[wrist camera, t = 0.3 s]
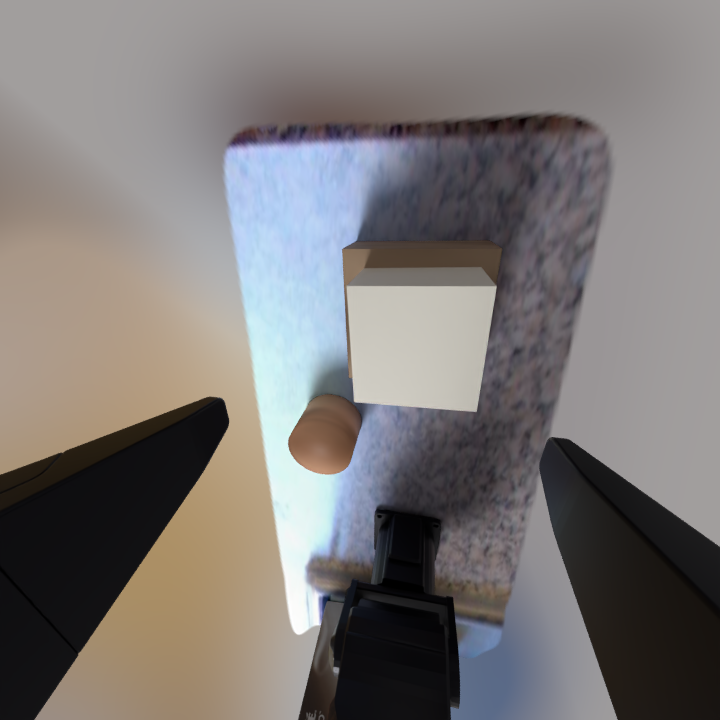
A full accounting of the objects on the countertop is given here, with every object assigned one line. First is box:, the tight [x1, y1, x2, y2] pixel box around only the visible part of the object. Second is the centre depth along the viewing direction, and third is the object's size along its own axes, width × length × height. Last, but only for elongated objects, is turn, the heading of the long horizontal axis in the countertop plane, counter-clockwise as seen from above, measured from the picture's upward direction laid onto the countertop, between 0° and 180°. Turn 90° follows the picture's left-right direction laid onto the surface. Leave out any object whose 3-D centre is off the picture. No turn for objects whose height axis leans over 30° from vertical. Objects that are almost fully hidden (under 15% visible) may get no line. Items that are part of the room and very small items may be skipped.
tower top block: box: [347, 267, 497, 412], centre depth 15 cm, size 6×6×4 cm
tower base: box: [342, 240, 502, 378], centre depth 19 cm, size 8×8×4 cm
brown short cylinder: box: [288, 394, 362, 474], centre depth 25 cm, size 5×5×4 cm
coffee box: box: [298, 601, 344, 720], centre depth 35 cm, size 9×6×16 cm
